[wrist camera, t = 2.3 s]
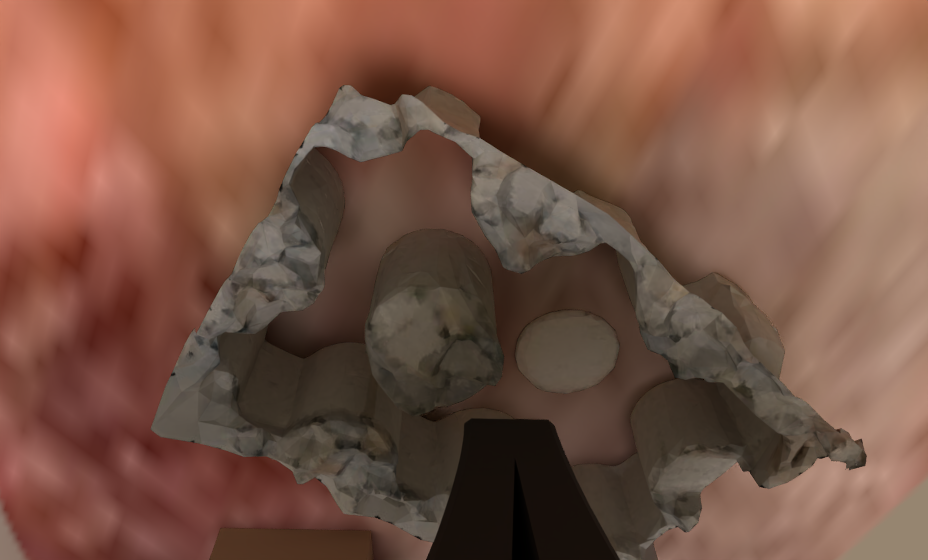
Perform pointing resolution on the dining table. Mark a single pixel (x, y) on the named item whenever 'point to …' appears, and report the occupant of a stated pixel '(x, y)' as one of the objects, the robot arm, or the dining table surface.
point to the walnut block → (292, 544)
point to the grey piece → (479, 347)
